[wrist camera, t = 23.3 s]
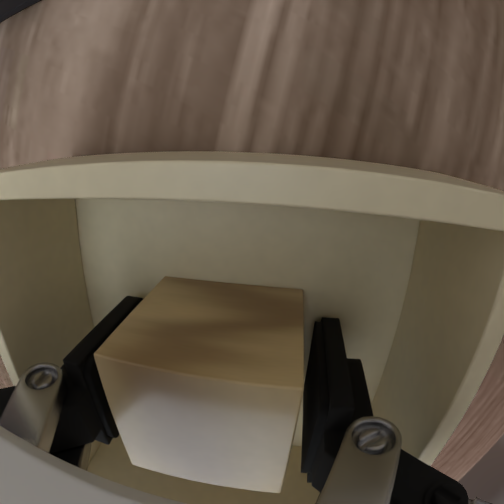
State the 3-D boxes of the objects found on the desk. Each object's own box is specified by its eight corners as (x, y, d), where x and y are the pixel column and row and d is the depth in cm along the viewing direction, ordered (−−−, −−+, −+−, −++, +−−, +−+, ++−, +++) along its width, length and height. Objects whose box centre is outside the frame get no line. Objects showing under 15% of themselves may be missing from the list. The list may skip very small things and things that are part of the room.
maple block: (303, 288, 10) (304, 388, 5) (289, 394, 11) (281, 493, 7) (164, 275, 10) (92, 353, 6) (175, 378, 12) (131, 464, 7)
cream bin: (436, 172, 8) (540, 203, 4) (361, 446, 12) (370, 535, 8) (70, 157, 10) (-42, 178, 5) (115, 411, 14) (71, 482, 9)
